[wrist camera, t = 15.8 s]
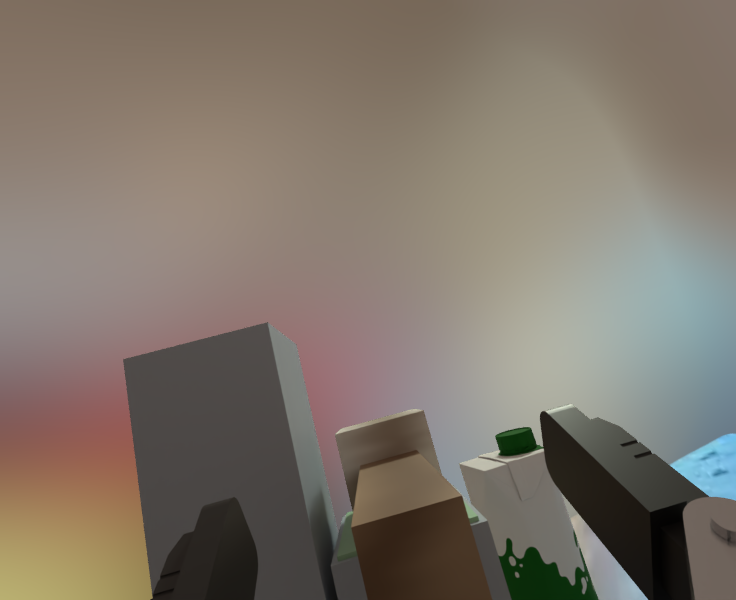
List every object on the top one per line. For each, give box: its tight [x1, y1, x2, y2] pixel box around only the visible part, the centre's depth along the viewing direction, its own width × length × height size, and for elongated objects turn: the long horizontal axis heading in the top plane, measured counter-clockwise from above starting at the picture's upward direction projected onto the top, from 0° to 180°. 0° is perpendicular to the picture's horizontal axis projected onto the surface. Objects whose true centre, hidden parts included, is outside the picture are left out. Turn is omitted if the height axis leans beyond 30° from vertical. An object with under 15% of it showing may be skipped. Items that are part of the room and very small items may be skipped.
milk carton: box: [459, 427, 598, 600], centre depth 44 cm, size 9×9×20 cm
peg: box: [335, 409, 492, 600], centre depth 19 cm, size 5×16×5 cm, turn 0°
